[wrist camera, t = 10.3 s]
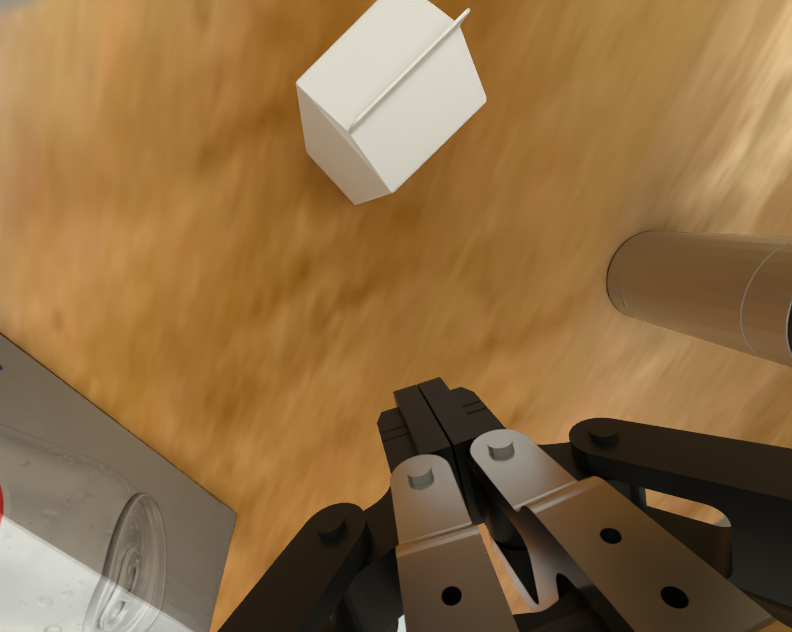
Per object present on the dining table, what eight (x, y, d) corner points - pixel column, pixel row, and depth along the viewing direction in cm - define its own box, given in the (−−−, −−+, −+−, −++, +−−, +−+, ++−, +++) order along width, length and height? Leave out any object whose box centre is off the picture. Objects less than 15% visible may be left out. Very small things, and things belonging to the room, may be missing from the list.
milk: (305, 152, 35) (283, 50, 14) (356, 101, 35) (414, -83, 13) (356, 207, 37) (405, 190, 15) (405, 158, 36) (523, 75, 15)
